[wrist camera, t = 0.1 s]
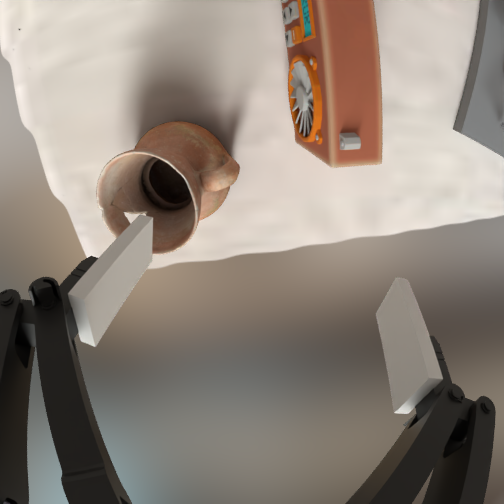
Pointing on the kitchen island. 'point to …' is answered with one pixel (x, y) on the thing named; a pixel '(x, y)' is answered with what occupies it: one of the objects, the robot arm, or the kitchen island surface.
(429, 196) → the kitchen island surface
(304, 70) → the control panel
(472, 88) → the switch panel
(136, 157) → the ceramic jug
